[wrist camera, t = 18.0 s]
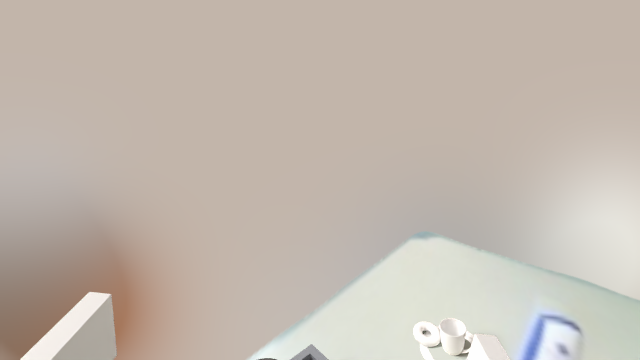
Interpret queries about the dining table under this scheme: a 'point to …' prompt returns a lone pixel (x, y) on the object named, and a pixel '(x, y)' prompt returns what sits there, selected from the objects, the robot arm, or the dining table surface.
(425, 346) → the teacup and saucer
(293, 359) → the tray
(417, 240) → the dining table surface
